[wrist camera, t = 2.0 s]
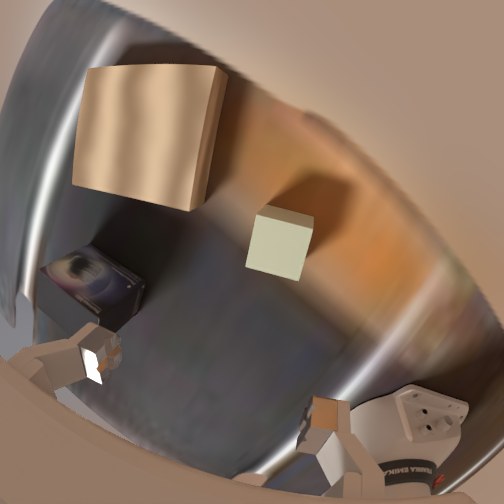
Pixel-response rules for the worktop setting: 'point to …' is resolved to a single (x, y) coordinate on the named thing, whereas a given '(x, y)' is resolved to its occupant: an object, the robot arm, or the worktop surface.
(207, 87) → the birch platform
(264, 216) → the sage cube
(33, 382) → the robot arm
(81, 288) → the small box
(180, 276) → the worktop surface
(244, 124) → the worktop surface
